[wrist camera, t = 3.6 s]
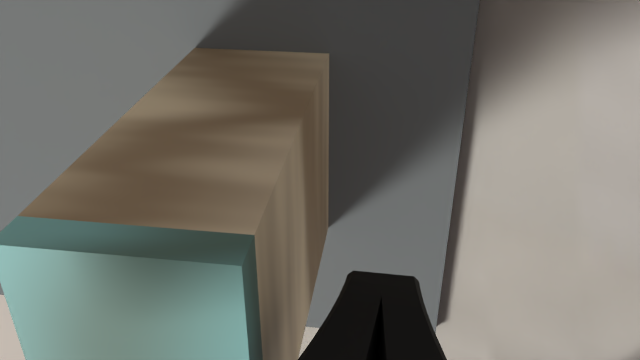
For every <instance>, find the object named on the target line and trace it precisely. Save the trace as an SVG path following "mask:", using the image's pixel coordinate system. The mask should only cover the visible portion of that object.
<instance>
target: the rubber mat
mask: <svg viewBox="0 0 640 360" xmlns="http://www.w3.org/2000/svg"><path fill="white" fill-rule="evenodd" d="M479 2H480V0H0V232H1V231H2V230H3V229H4V228H5V227H6V226H7V225H8V224H9V223H10V222H11V221H12V220H14V219H15V218H16V217H17V216H18V215H19V214H20V213H21V212H22V211H23V210H24V209H25V208H26V207H27V206H28V205H29V204H30V203H31V202H33V201H34V200H35V199H36V198H37V197H38V196H39V195H40V194H41V193H42V192H43V191H44V190H45V189H46V188H47V187H48V186H49V185H50V184H51V183H53V182H54V181H55V180H56V179H57V178H58V177H59V176H60V175H61V174H62V173H63V172H64V171H65V170H66V169H67V168H68V167H69V166H70V165H72V164H73V163H74V162H75V161H76V160H77V159H78V158H79V157H80V156H81V155H82V154H83V153H84V152H85V151H86V150H87V149H88V148H89V147H91V146H92V145H93V144H94V143H95V142H96V141H97V140H98V139H99V138H100V137H101V136H102V135H103V134H104V133H105V132H106V131H107V130H108V129H109V128H111V127H112V126H113V125H114V124H115V123H116V122H117V121H118V120H119V119H120V118H121V117H122V116H123V115H124V114H125V113H126V112H127V111H128V110H130V109H131V108H132V107H133V106H134V105H135V104H136V103H137V102H138V101H139V100H140V99H141V98H142V97H143V96H144V95H145V94H146V93H147V92H149V91H150V90H151V89H152V88H153V87H154V86H155V85H156V84H157V83H158V82H159V81H160V80H161V79H162V78H163V77H164V76H165V75H166V74H168V73H169V72H170V71H171V70H172V69H173V68H174V67H175V66H176V65H177V64H178V63H179V62H180V61H181V60H182V59H183V58H184V57H185V56H186V55H188V54H189V53H190V52H191V51H192V50H193V49H194V48H210V49H233V50H257V51H281V52H305V53H328V54H329V191H328V231H327V236H326V240H325V244H324V249H323V253H322V257H321V261H320V266H319V270H318V274H317V279H316V283H315V287H314V292H313V296H312V300H311V305H310V309H309V313H308V318H307V322H306V327H316V328H320V327H321V325H322V324H323V322H324V321H325V319H326V317H327V316H328V314H329V313H330V311H331V309H332V307H333V305H334V304H335V302H336V300H337V298H338V296H339V294H340V292H341V290H342V288H343V285H344V283H345V280H346V277H347V275H348V274H349V273H350V272H352V271H364V272H374V273H385V274H395V275H406V276H414V277H415V278H416V279H417V280H418V281H419V284H420V289H421V294H422V297H423V301H424V304H425V307H426V310H427V313H428V316H429V319H430V322H431V324H432V327H433V329H434V332H436V325H437V317H438V310H439V302H440V295H441V287H442V280H443V272H444V265H445V257H446V250H447V242H448V235H449V227H450V220H451V212H452V205H453V197H454V190H455V182H456V175H457V167H458V160H459V152H460V145H461V137H462V130H463V122H464V115H465V107H466V100H467V92H468V85H469V77H470V70H471V62H472V55H473V47H474V40H475V32H476V25H477V17H478V10H479ZM0 295H4V292H3V289H2V286H1V283H0Z"/></svg>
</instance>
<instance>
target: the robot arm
mask: <svg viewBox="0 0 640 360" xmlns="http://www.w3.org/2000/svg"><path fill="white" fill-rule="evenodd" d="M298 360H447V359H446V357H445V355H444V352H443V350H442V348H441V346H440V343H439V341H438V339H437V337H436V334H435V332H434V329H433V327H432V324H431V322H430V319H429V316H428V313H427V310H426V307H425V304H424V301H423V297H422V294H421V289H420V284H419V281H418V280H417V279H416V278H415V277H414V276H406V275H395V274H385V273H374V272H364V271H352V272H350V273H349V274H348V275H347V277H346V280H345V283H344V285H343V288H342V290H341V292H340V294H339V296H338V298H337V300H336V302H335V304H334V305H333V307H332V309H331V311H330V313H329V314H328V316H327V317H326V319H325V321H324V322H323V324H322V325H321V327H320V329H319V330H318V332H317V333H316V335H315V336H314V338H313V339H312V341H311V342H310V344H309V345H308V346H307V348H306V349H305V351H304V352H303V353H302V355H301V356H300V357H299V359H298Z"/></svg>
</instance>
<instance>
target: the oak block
mask: <svg viewBox="0 0 640 360" xmlns="http://www.w3.org/2000/svg"><path fill="white" fill-rule="evenodd" d="M328 191H329V54H328V53H305V52H281V51H257V50H233V49H210V48H194V49H193V50H192V51H191V52H190V53H189V54H188V55H186V56H185V57H184V58H183V59H182V60H181V61H180V62H179V63H178V64H177V65H176V66H175V67H174V68H173V69H172V70H171V71H170V72H169V73H168V74H166V75H165V76H164V77H163V78H162V79H161V80H160V81H159V82H158V83H157V84H156V85H155V86H154V87H153V88H152V89H151V90H150V91H149V92H147V93H146V94H145V95H144V96H143V97H142V98H141V99H140V100H139V101H138V102H137V103H136V104H135V105H134V106H133V107H132V108H131V109H130V110H128V111H127V112H126V113H125V114H124V115H123V116H122V117H121V118H120V119H119V120H118V121H117V122H116V123H115V124H114V125H113V126H112V127H111V128H109V129H108V130H107V131H106V132H105V133H104V134H103V135H102V136H101V137H100V138H99V139H98V140H97V141H96V142H95V143H94V144H93V145H92V146H91V147H89V148H88V149H87V150H86V151H85V152H84V153H83V154H82V155H81V156H80V157H79V158H78V159H77V160H76V161H75V162H74V163H73V164H72V165H70V166H69V167H68V168H67V169H66V170H65V171H64V172H63V173H62V174H61V175H60V176H59V177H58V178H57V179H56V180H55V181H54V182H53V183H51V184H50V185H49V186H48V187H47V188H46V189H45V190H44V191H43V192H42V193H41V194H40V195H39V196H38V197H37V198H36V199H35V200H34V201H33V202H31V203H30V204H29V205H28V206H27V207H26V208H25V209H24V210H23V211H22V212H21V213H20V214H19V215H18V216H17V217H16V218H15V219H14V220H12V221H11V222H10V223H9V224H8V225H7V226H6V227H5V228H4V229H3V230H2V231H1V232H0V283H1V286H2V289H3V292H4V295H5V298H6V301H7V304H8V307H9V310H10V313H11V316H12V319H13V322H14V326H15V329H16V332H17V335H18V338H19V341H20V344H21V347H22V350H23V353H24V356H25V359H26V360H298V356H299V352H300V348H301V343H302V339H303V335H304V330H305V326H306V322H307V318H308V313H309V309H310V305H311V300H312V296H313V292H314V287H315V283H316V279H317V274H318V270H319V266H320V261H321V257H322V253H323V249H324V244H325V240H326V236H327V231H328Z"/></svg>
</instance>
